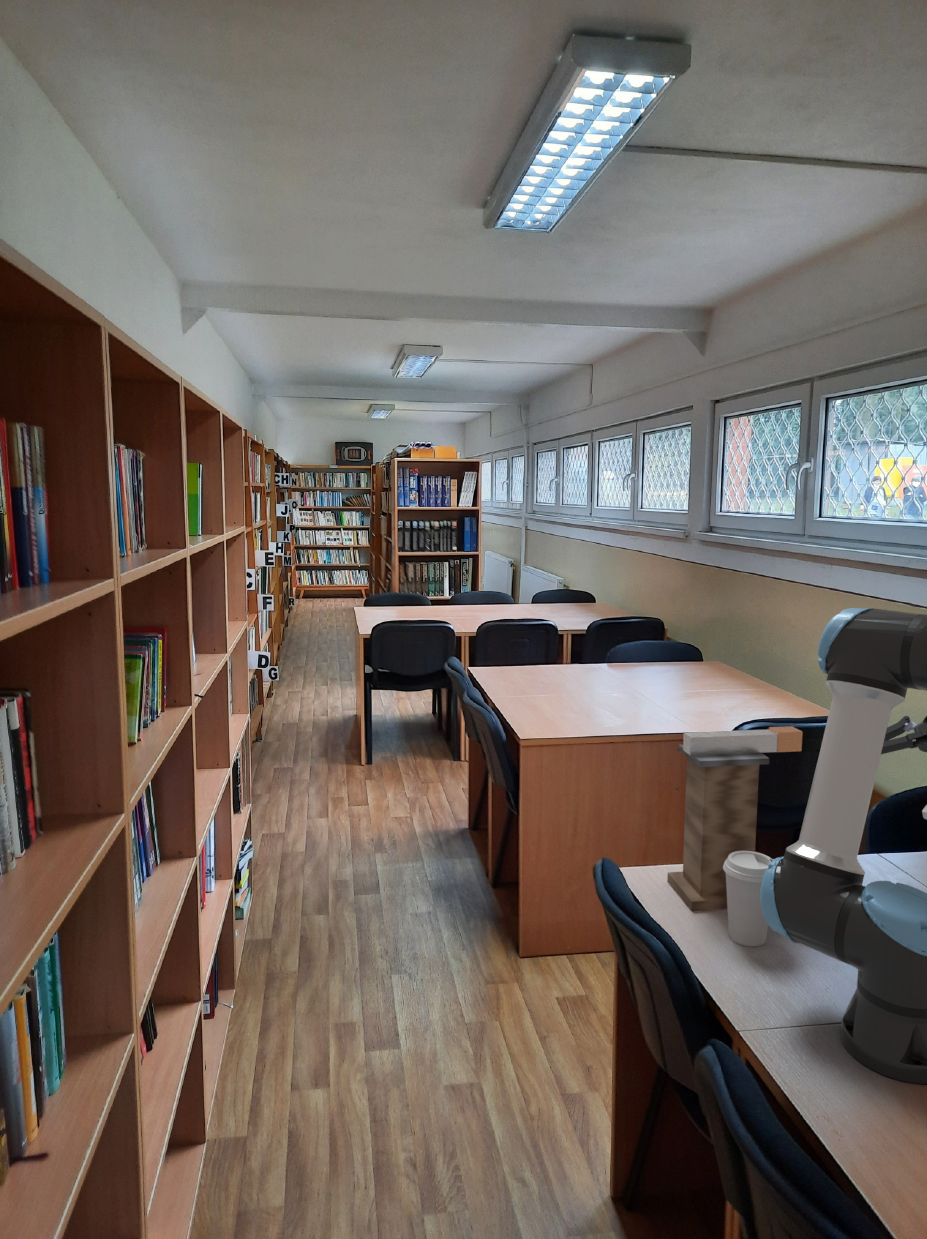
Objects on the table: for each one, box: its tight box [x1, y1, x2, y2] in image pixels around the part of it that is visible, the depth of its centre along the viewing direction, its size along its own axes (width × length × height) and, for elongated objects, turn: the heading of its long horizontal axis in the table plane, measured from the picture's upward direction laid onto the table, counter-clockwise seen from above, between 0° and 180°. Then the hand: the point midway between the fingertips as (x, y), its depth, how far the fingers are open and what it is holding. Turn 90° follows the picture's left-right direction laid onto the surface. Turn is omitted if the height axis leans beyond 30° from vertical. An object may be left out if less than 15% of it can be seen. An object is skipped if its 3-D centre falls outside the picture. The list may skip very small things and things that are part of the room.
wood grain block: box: [682, 725, 804, 755], centre depth 166 cm, size 23×4×4 cm, turn 97°
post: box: [667, 744, 770, 912], centre depth 168 cm, size 16×13×30 cm
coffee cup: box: [723, 851, 773, 947], centre depth 152 cm, size 10×10×15 cm
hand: (889, 796), depth 157 cm, fingers open, 13 cm apart
